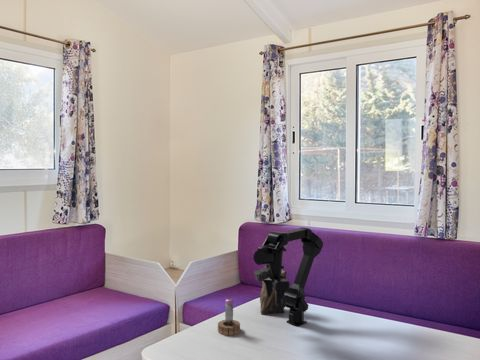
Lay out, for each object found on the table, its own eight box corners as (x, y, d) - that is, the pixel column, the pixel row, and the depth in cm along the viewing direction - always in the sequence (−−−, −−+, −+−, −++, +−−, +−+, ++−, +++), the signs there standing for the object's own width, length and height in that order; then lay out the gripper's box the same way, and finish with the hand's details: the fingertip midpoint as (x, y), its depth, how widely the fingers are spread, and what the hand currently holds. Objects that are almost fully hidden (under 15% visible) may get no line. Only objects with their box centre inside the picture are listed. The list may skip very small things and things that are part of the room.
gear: (229, 324, 181) (229, 318, 181) (244, 331, 175) (244, 324, 175) (213, 330, 175) (213, 323, 175) (227, 337, 169) (228, 329, 169)
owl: (259, 305, 207) (260, 264, 206) (285, 306, 206) (286, 265, 205) (260, 314, 194) (260, 271, 193) (287, 315, 193) (288, 272, 193)
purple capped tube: (231, 328, 177) (231, 298, 177) (234, 331, 174) (234, 300, 174) (224, 330, 176) (224, 299, 175) (226, 332, 173) (227, 301, 172)
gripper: (249, 257, 180) (246, 294, 180) (265, 267, 162) (263, 308, 163) (273, 257, 184) (271, 293, 184) (291, 267, 166) (289, 307, 166)
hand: (272, 300), depth 174 cm, fingers open, 9 cm apart
